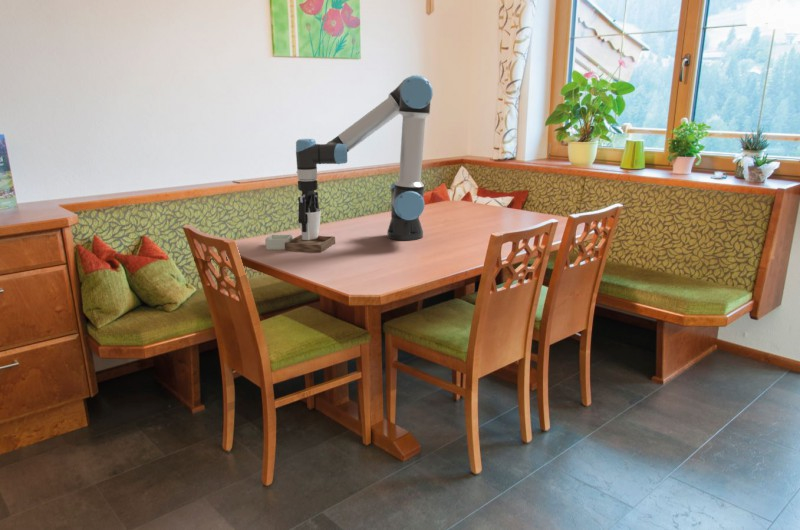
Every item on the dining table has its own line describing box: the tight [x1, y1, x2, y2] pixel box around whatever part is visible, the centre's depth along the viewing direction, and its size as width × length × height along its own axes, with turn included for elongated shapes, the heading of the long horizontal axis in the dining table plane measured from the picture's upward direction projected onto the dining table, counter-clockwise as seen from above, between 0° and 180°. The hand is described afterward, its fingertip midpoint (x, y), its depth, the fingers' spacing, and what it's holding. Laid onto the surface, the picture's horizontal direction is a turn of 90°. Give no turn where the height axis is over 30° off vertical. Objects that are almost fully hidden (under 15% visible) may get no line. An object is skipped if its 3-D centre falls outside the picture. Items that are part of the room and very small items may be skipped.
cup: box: [295, 208, 322, 239], centre depth 238 cm, size 10×10×11 cm
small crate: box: [264, 233, 294, 251], centre depth 240 cm, size 9×9×4 cm
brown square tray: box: [284, 234, 336, 253], centre depth 240 cm, size 15×15×3 cm
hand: (310, 237), depth 239 cm, fingers closed on cup, 8 cm apart
